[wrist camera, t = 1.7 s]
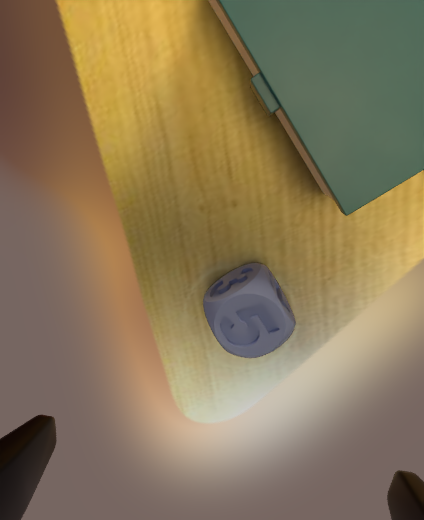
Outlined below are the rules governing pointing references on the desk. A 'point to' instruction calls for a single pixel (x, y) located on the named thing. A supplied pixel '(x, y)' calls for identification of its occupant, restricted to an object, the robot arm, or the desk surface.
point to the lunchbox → (339, 85)
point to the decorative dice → (248, 311)
